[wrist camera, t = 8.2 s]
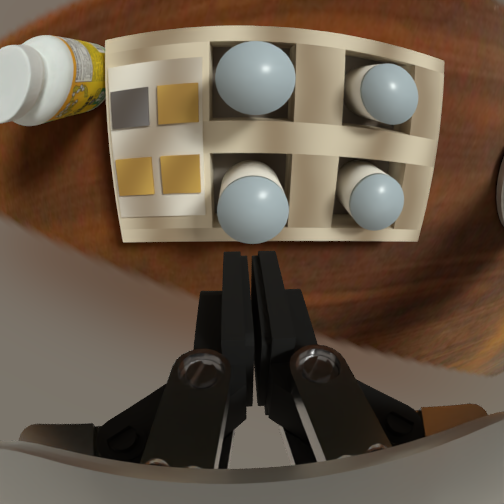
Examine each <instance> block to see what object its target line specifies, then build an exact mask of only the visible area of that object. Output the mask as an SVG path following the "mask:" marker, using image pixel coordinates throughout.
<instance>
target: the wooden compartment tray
mask: <svg viewBox="0 0 504 504" xmlns="http://www.w3.org/2000/svg"><path fill="white" fill-rule="evenodd" d="M249 41H262V42H267V43H270V44H272V45H274V46H276V47H278V48H279V49H281V50H282V51H283V52H284V53H285V54H286V55H287V56H288V57H289V59H290V60H291V62H292V64H293V67H294V70H295V77H296V80H295V87H294V90H293V92H292V94H291V96H290V98H289V99H288V100H287V102H286V103H285V104H284V105H282V106H281V107H280V108H278V109H277V110H275V111H273V112H270V113H267V114H262V115H249V114H244V113H241V112H239V111H236V110H234V109H233V108H231V107H230V106H229V105H227V104H226V103H225V101H224V100H223V99H222V98H221V96H220V94H219V92H218V90H217V87H216V83H215V73H216V68H217V66H218V63H219V61H220V59H221V58H222V57H223V55H224V54H225V53H226V52H227V51H228V50H230V49H231V48H232V47H234V46H236V45H238V44H241V43H244V42H249ZM386 63H387V64H394V65H397V66H400V67H401V68H403V69H404V70H406V71H407V72H408V73H409V74H410V75H411V77H412V78H413V80H414V82H415V84H416V87H417V90H418V104H417V108H416V110H415V112H414V114H413V115H412V117H411V118H410V119H408V120H407V121H405V122H404V123H401V124H397V125H390V124H386V123H382V122H379V121H375V120H372V119H368V118H365V117H361V116H358V115H356V114H355V113H353V112H352V111H351V110H349V108H348V107H347V106H346V105H345V103H344V101H343V98H344V78H345V75H346V74H347V73H348V72H349V71H350V70H352V69H354V68H356V67H361V66H368V65H377V64H386ZM443 82H444V61H443V60H440V59H437V58H434V57H431V56H428V55H425V54H422V53H419V52H416V51H412V50H409V49H405V48H402V47H398V46H394V45H390V44H386V43H382V42H378V41H374V40H369V39H364V38H359V37H354V36H349V35H343V34H337V33H331V32H324V31H316V30H307V29H298V28H286V27H270V26H208V27H192V28H180V29H170V30H162V31H154V32H147V33H141V34H135V35H129V36H124V37H119V38H114V39H109V40H105V86H106V110H107V125H108V138H109V149H110V158H111V167H112V176H113V183H114V191H115V198H116V204H117V211H118V217H119V223H120V228H121V234H122V239H123V242H189V241H237V240H235V239H233V238H231V237H230V236H229V235H228V234H227V233H226V232H225V231H224V230H223V229H222V227H221V225H220V223H219V220H218V216H217V206H218V201H219V195H220V189H221V184H222V180H223V177H224V175H225V174H226V172H227V171H228V170H229V169H230V168H231V167H232V166H234V165H235V164H237V163H239V162H242V161H247V160H254V161H259V162H262V163H264V164H266V165H268V166H269V167H270V168H271V169H272V170H273V171H274V172H275V173H276V175H277V177H278V179H279V182H280V184H281V186H282V189H283V191H284V193H285V196H286V198H287V201H288V205H289V215H288V219H287V222H286V224H285V226H284V228H283V229H282V230H281V232H280V233H279V234H278V235H276V236H275V237H274V238H272V239H270V240H268V241H418V238H419V234H420V230H421V226H422V222H423V218H424V214H425V209H426V205H427V200H428V196H429V191H430V186H431V180H432V175H433V169H434V164H435V157H436V151H437V144H438V137H439V128H440V120H441V110H442V98H443ZM353 160H364V161H367V162H369V163H371V164H372V165H374V166H375V167H377V168H378V169H380V170H381V171H383V172H384V173H386V174H387V175H389V176H390V177H392V178H393V179H395V180H396V181H397V182H398V183H399V184H400V186H401V188H402V190H403V194H404V205H403V209H402V211H401V213H400V215H399V217H398V218H397V219H396V221H395V222H394V223H393V224H391V225H390V226H388V227H387V228H384V229H382V230H377V231H372V230H367V229H364V228H362V227H361V226H360V225H358V223H357V222H356V221H355V220H354V219H353V217H352V216H351V215H350V214H349V212H348V211H347V210H346V209H345V207H344V206H343V205H342V204H341V203H340V201H339V200H338V199H337V197H336V195H335V191H336V182H337V172H338V170H339V169H340V168H341V167H342V166H343V165H344V164H346V163H347V162H350V161H353Z"/></svg>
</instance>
